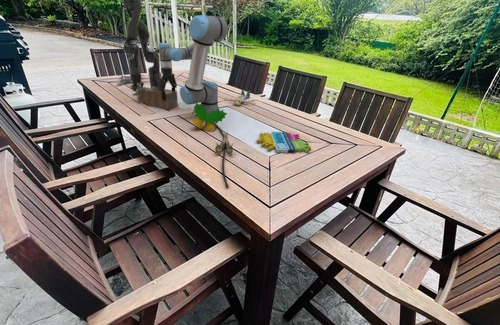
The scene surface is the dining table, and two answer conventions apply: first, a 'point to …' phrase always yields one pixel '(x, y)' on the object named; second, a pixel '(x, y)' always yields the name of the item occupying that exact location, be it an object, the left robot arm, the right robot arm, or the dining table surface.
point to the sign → (283, 142)
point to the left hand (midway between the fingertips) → (138, 96)
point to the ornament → (207, 117)
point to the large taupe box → (160, 98)
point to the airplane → (125, 80)
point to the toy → (241, 99)
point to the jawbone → (224, 145)
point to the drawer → (140, 94)
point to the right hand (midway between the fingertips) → (169, 98)
